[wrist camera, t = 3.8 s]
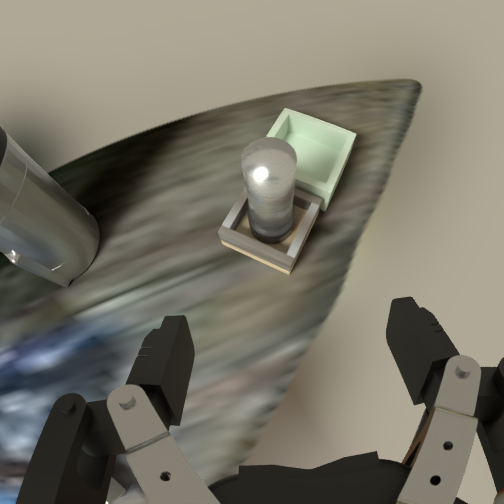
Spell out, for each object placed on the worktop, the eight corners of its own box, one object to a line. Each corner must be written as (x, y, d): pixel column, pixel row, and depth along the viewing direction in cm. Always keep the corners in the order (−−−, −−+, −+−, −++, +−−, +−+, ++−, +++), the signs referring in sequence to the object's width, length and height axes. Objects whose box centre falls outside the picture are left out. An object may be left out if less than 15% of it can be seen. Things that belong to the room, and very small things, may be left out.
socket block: (289, 275, 30) (290, 265, 27) (223, 244, 32) (217, 232, 29) (318, 213, 32) (322, 199, 29) (255, 187, 34) (253, 171, 31)
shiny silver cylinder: (282, 251, 30) (285, 194, 19) (241, 233, 31) (225, 171, 20) (300, 214, 31) (310, 146, 21) (261, 197, 32) (254, 126, 21)
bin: (325, 212, 32) (331, 193, 28) (252, 182, 34) (250, 161, 30) (349, 154, 34) (356, 133, 31) (284, 130, 36) (284, 107, 32)
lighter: (93, 472, 24) (52, 491, 17) (100, 464, 24) (59, 484, 17) (139, 515, 22) (107, 545, 15) (147, 508, 23) (116, 539, 15)
